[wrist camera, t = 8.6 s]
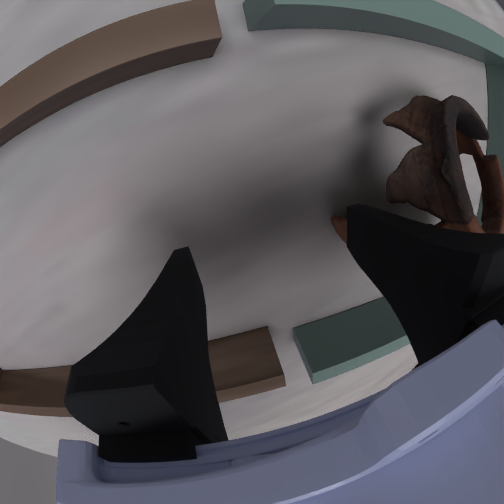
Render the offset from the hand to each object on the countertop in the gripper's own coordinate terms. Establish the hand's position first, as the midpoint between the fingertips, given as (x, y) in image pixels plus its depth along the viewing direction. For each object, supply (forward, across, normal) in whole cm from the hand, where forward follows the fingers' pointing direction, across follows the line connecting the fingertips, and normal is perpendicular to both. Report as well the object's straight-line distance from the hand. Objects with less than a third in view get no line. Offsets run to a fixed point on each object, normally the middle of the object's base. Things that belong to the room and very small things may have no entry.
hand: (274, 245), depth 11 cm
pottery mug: (+3, -9, 0) cm, 10 cm away
